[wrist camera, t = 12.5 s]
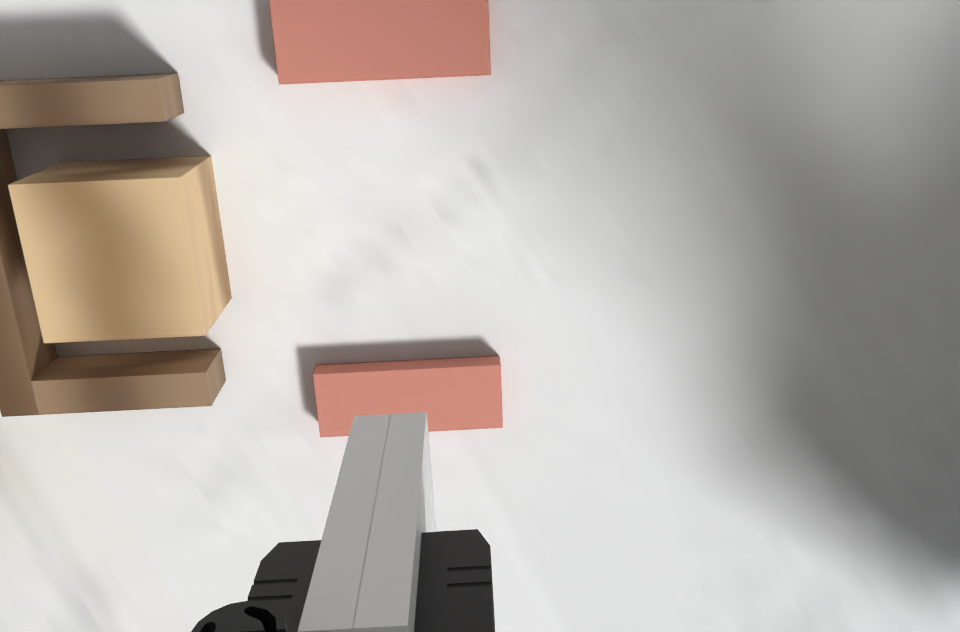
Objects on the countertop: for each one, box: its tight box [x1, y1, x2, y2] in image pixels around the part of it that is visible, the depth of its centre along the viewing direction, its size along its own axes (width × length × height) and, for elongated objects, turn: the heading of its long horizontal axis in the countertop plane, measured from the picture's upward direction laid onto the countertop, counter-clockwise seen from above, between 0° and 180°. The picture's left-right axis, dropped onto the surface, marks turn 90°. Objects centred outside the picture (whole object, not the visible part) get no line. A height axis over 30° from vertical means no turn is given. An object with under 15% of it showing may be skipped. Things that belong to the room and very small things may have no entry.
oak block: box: [8, 156, 232, 343], centre depth 34 cm, size 6×6×4 cm
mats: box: [269, 0, 503, 437], centre depth 35 cm, size 8×18×1 cm, turn 2°
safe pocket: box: [0, 73, 226, 417], centre depth 35 cm, size 8×13×2 cm, turn 2°
